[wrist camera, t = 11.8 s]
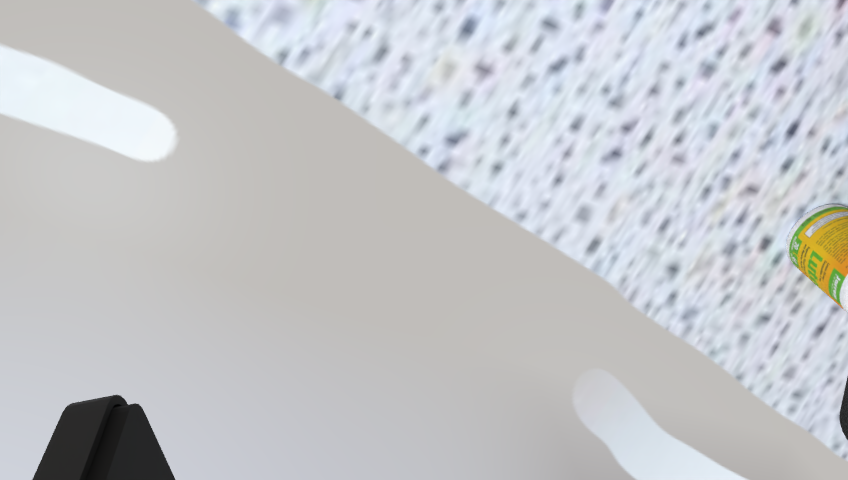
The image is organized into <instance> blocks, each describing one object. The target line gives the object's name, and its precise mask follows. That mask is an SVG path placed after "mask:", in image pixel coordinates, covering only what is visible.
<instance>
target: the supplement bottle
mask: <svg viewBox="0 0 848 480" xmlns="http://www.w3.org/2000/svg"><path fill="white" fill-rule="evenodd" d="M786 251H787V255H788V257H789V259H790V261H791V262H792V263H793V264H794V265H795V266H796V267H797V268H798V269H799V270H800V271H801V272H803V273H804V274H805V275H806V276H807V277H808V278H809V279H810V280H811V281H813V282H814V283H815V284H816V285H817V286H818V287H819V288H820V289H821V290H822V291H824V292H825V293H826V294H827V295H828V296H829V297H830V298H832V299H833V300H834V301H835V302H836V303H837V304H838V305H839V306H840V307H842V308H843V309H844V310H845V311H846V312H847V313H848V207H845V206H842V205H837V204H830V205H824V206H821V207H818V208H816V209H813V210H811V211H810V212H808V213H807V214H805V215H804V216H803V217H802V218H801V219H800V220H799V221H798V222H797V223H796V224H795V225H794V226H793V228H792V229H791V231H790V233H789V235H788V238H787V242H786Z"/></svg>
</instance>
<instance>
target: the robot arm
mask: <svg viewBox="0 0 848 480" xmlns="http://www.w3.org/2000/svg"><path fill="white" fill-rule="evenodd" d="M840 424H841V427H842V430H843V433H844V435H845V437H846V438H847V440H848V378H847V382H846V387H845V391H844V396H843V401H842V405H841V410H840ZM33 480H175V478H174V476H173V474H172V472H171V469H170V467H169V465H168V463H167V461H166V458H165V457H164V454H163V452H162V450H161V447H160V445H159V443H158V441H157V439H156V437H155V435H154V432H153V430H152V428H151V426H150V424H149V421H148V419H147V417H146V415H145V413H144V411H143V409H142V407H141V406H140V405H139V404H130V405H128V404H127V402H126V401H125V399H124V398H122V397H121V396H119V395H113V396H108V397H103V398H98V399H93V400H87V401H82V402H77V403H72V404H70V405H69V406H67V407H66V408H65V410H64V411H63V413H62V415H61V417H60V420H59V422H58V424H57V426H56V429H55V431H54V433H53V435H52V437H51V440H50V442H49V444H48V446H47V449H46V451H45V453H44V455H43V457H42V460H41V462H40V464H39V466H38V469H37V471H36V473H35V475H34V478H33Z"/></svg>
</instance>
